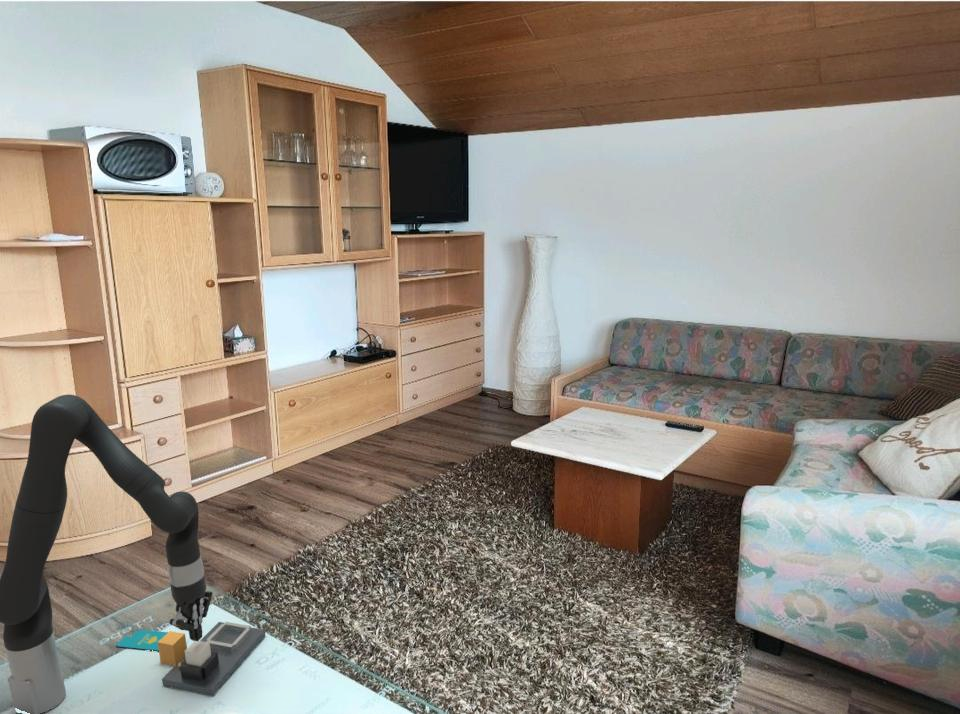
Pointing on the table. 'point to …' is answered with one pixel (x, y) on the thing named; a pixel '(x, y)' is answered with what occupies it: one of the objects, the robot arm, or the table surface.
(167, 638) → the cap
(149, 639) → the smartphone
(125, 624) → the table surface
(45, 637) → the robot arm
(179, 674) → the grey control panel
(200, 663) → the button
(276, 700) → the table surface
